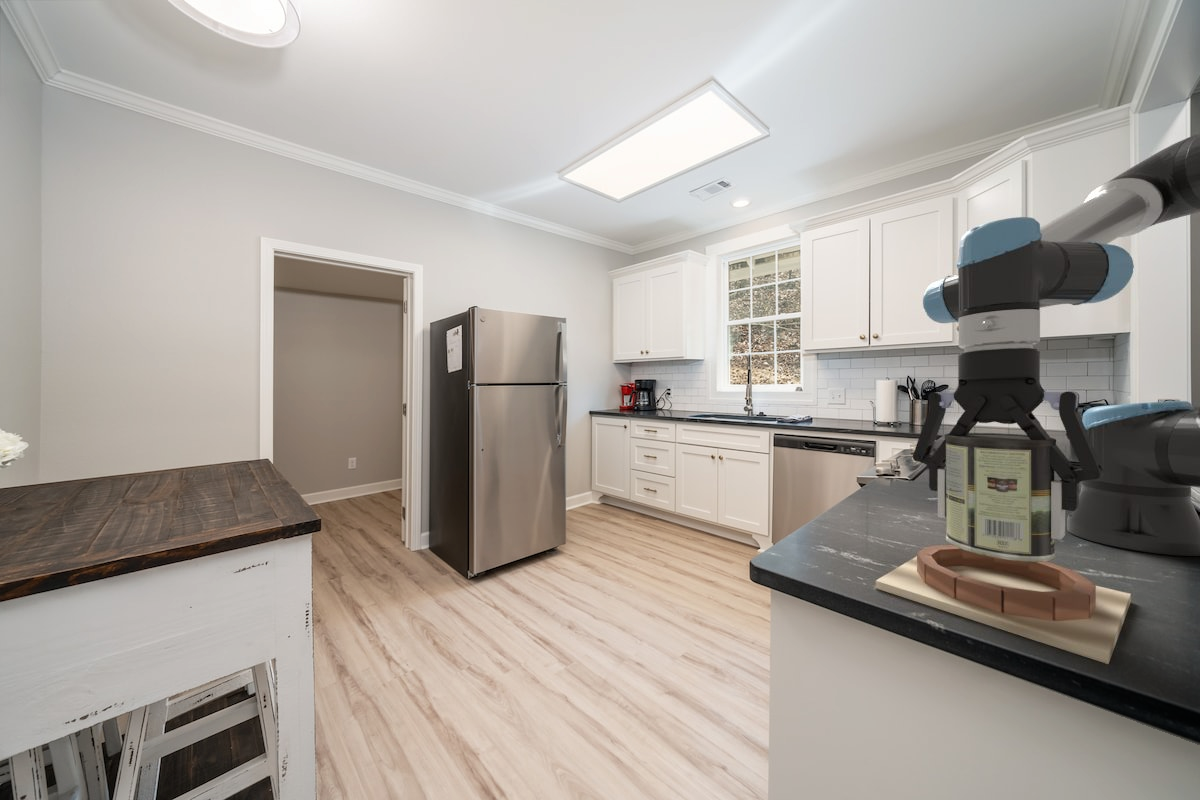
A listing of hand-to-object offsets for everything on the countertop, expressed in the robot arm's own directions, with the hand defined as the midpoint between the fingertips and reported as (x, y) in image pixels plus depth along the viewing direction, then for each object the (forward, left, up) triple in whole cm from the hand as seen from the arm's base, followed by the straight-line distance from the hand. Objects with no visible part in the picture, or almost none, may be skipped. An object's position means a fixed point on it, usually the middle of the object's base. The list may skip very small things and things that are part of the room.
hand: (996, 525), depth 55 cm
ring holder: (0, 0, -9) cm, 9 cm away
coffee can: (0, 0, -3) cm, 3 cm away
